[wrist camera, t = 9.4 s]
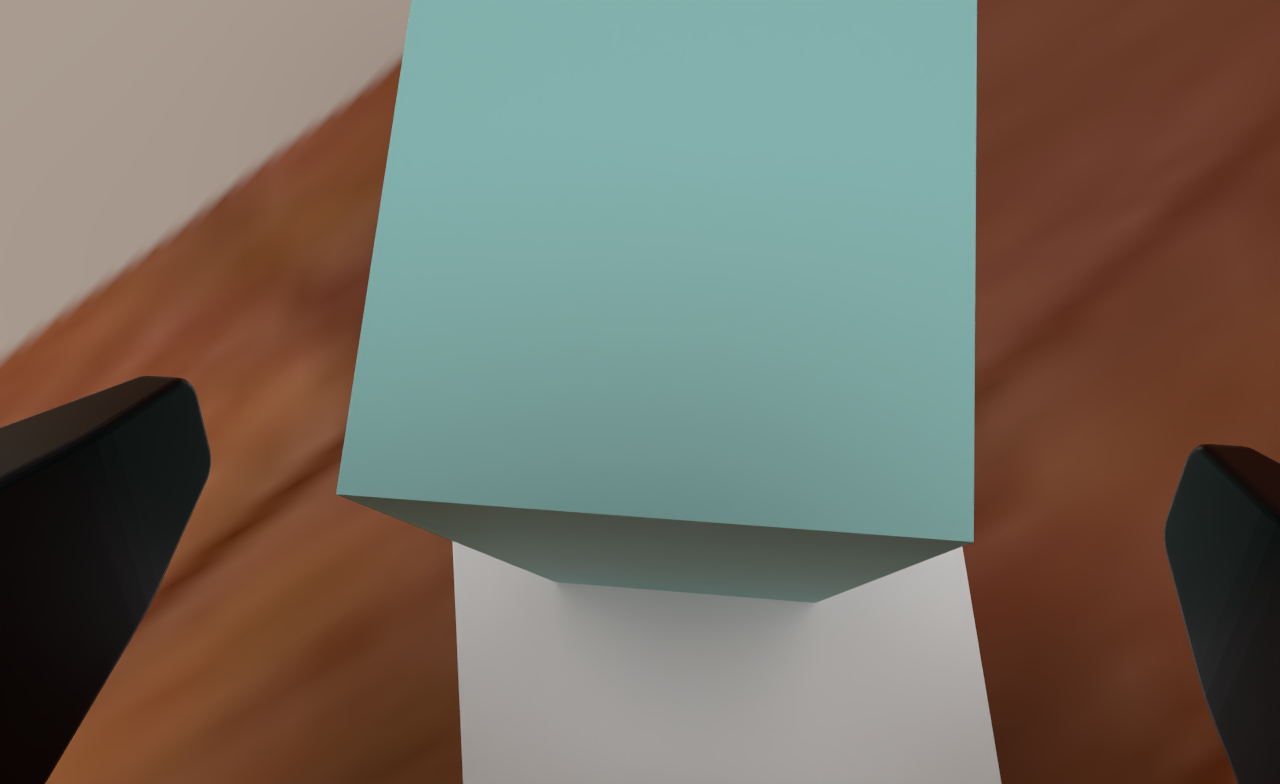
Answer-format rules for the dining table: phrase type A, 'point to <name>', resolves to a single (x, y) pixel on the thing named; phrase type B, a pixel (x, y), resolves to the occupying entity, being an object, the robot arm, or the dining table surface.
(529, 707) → the base slab
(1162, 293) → the dining table surface
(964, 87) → the teal block
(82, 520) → the robot arm
